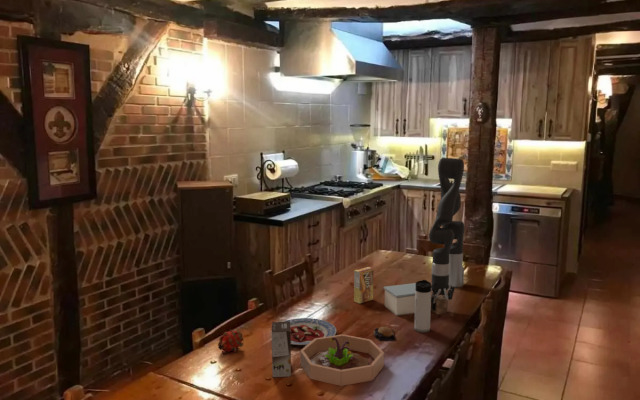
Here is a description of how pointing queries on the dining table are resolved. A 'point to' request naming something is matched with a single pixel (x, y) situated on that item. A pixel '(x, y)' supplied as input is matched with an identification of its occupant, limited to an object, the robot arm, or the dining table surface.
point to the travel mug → (422, 306)
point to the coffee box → (281, 349)
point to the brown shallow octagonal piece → (347, 374)
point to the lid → (401, 290)
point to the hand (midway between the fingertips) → (439, 309)
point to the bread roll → (384, 334)
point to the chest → (400, 304)
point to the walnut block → (441, 305)
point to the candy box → (363, 285)
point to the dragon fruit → (230, 341)
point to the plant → (340, 358)
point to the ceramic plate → (309, 330)
